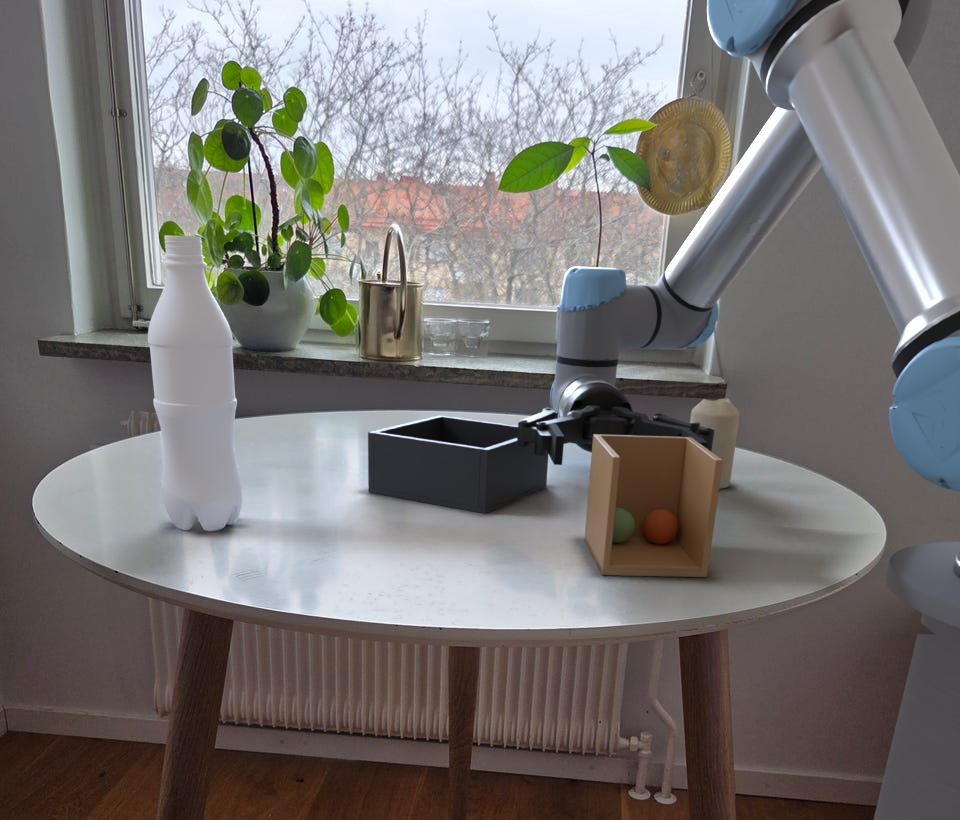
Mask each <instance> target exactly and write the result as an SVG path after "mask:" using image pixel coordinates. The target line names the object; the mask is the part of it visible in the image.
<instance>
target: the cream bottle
mask: <svg viewBox="0 0 960 820" xmlns="http://www.w3.org/2000/svg"><path fill="white" fill-rule="evenodd" d="M740 416H741V413H740V411H739V410H738V408H736V406H735V405H734V404H733V403H732V401H731V400H730V398H718V399H716V400H709V399H705V398H703V399H701V401H700V402H699V403H698V404H697V405H695V406H694V407H693V408H692V409H691V413H690V421H689V423H697V422H699V423H700V426H702V427H706V428H711V429H713V430H715V432H714V439H713V445H712V453H714V454H715V455H716V456H718V457H719V458H720V459H722V460H723V465H722V472H721V479H720V486H719V489H726V488H728V487H729V486H730V484H731V479H732V471H733V465H734V458H735V453H736V452H735V451H736V446H737V445H736V444H737V437H738V430H739V422H740V418H741V417H740Z"/></svg>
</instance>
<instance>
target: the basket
mask: <svg viewBox="0 0 960 820" xmlns="http://www.w3.org/2000/svg"><path fill="white" fill-rule="evenodd" d="M517 436H518V425H516V424H515V425H514V424H507V423H500V422H493V421H492V422H491V421H485V420H478V419H470V418H463V417H455V416H446V415H441V414H439V415H435V416H431V417H426V418H422V419H418V420H413V421H410V422H406V423H405V422H404V423H402V424H398V425H392V426H388V427H385V428H381V429H377V430H373V431H368V432H367V468H368V469H367V472H368V473H367V474H368V475H367V476H368V477H367V478H368V481H367V482H368V483H367V484H368V486H367V487H368V491H367V492H368V493H370V494H375V495H376V494H377V495H382V496H387V497H393V498H398V499H403V500H410V501H415V502H420V503H425V504H431V505H436V506H441V507H447V508H452V509H458V510H464V511H470V512H475V513H481V514H487V513H490V512H491V511H494V510H496V509H499V508H502V507H503V506H506V505H509V504H510V503H513V502H515V501H518V500H520V499H522V498H524V497H526V496H528V495H529V496H530V495H531V494H533V493H535V492H537V491H540V490H543V489H545V488H547V482H548V468H549V467H548V465H549V454H548V452H547V450H545V456H538V455H535V443H533V444H531V445H529V446H525V447H520V446H518V445H517Z"/></svg>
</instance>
